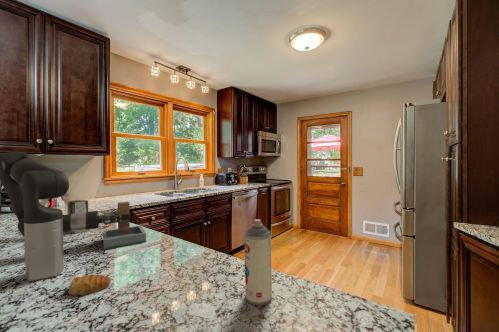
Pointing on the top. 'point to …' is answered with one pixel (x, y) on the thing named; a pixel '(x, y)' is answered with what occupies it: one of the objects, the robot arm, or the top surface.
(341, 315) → the top surface
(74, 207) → the coffee box
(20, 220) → the robot arm
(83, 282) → the pastry
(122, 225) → the walnut block
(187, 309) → the top surface
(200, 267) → the top surface
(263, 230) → the aerosol can
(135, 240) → the slate tray
